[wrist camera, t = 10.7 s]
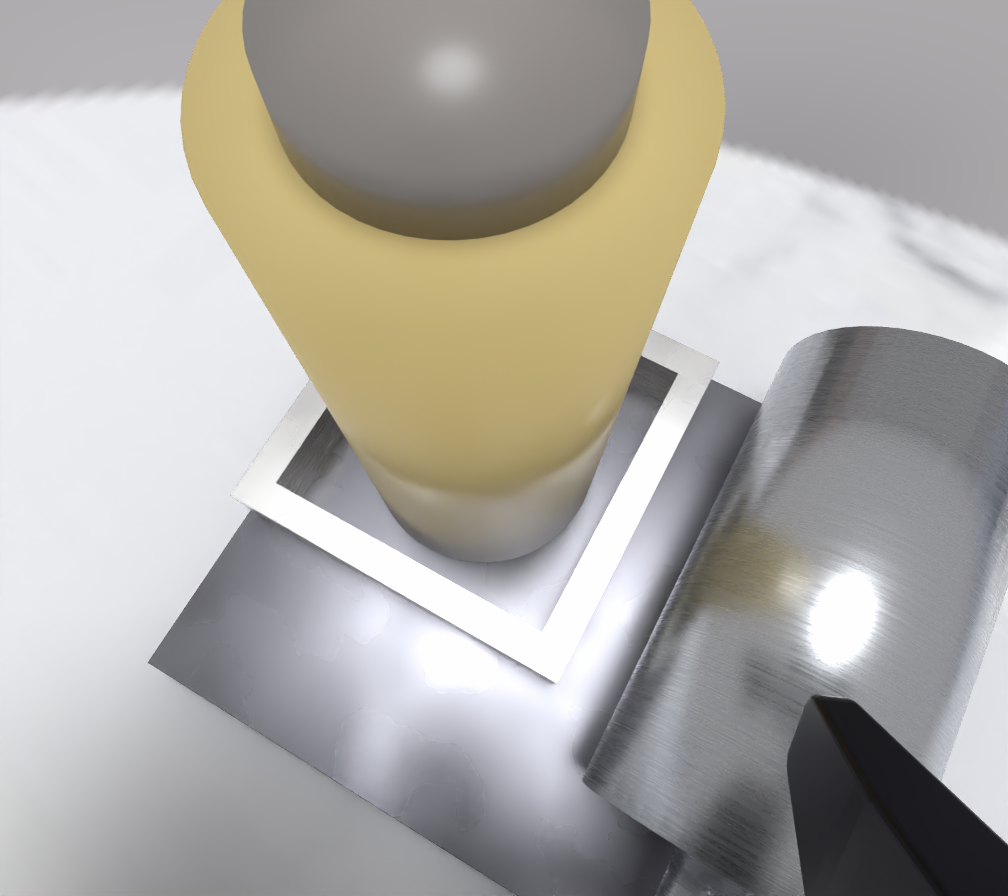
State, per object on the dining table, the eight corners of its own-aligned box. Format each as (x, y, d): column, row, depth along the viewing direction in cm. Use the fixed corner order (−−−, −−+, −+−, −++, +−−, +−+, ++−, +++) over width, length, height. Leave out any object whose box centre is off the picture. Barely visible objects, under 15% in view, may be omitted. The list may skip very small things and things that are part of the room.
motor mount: (752, 1028, 18) (915, 1251, 11) (173, 665, 20) (-8, 647, 13) (945, 519, 21) (1160, 431, 14) (435, 271, 24) (403, 93, 17)
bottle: (466, 610, 19) (380, 405, 6) (332, 439, 21) (25, -26, 8) (638, 468, 20) (884, 38, 7) (500, 317, 22) (491, -269, 9)
